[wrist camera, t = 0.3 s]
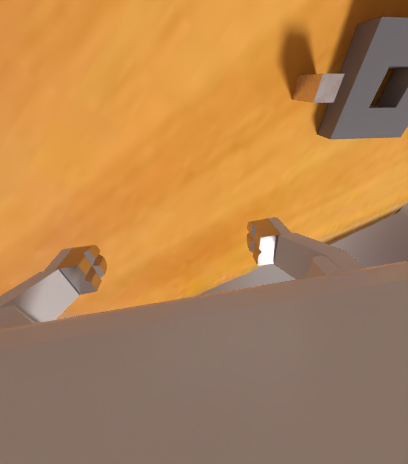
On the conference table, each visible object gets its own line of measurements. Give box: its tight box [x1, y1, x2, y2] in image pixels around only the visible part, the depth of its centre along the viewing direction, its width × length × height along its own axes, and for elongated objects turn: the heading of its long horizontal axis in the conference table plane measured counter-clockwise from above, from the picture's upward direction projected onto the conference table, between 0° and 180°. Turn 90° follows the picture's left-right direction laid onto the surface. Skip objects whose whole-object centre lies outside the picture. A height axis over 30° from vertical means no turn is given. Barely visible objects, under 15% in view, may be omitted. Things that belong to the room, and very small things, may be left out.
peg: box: [292, 74, 344, 103], centre depth 34 cm, size 4×4×8 cm
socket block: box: [317, 17, 408, 139], centre depth 37 cm, size 18×18×5 cm
